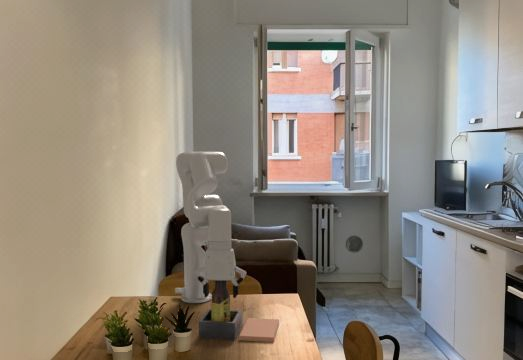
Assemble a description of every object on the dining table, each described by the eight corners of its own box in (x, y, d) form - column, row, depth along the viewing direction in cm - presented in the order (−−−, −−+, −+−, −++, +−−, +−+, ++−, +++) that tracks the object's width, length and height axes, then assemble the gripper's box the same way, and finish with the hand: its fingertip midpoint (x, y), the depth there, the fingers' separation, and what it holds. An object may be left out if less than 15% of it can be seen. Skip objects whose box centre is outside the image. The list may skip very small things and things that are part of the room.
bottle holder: (198, 337, 155) (198, 321, 155) (208, 324, 167) (208, 309, 167) (235, 339, 154) (234, 323, 153) (241, 326, 165) (241, 310, 165)
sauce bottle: (227, 336, 157) (226, 276, 155) (209, 335, 158) (208, 275, 156) (232, 328, 163) (232, 271, 162) (214, 327, 164) (214, 270, 163)
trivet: (239, 340, 153) (239, 335, 153) (248, 322, 169) (248, 318, 169) (273, 342, 152) (273, 337, 152) (279, 323, 168) (279, 319, 167)
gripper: (191, 247, 156) (192, 298, 157) (243, 248, 153) (244, 300, 154) (197, 242, 163) (198, 292, 164) (247, 243, 161) (248, 293, 162)
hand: (220, 296), depth 159 cm, fingers open, 9 cm apart
